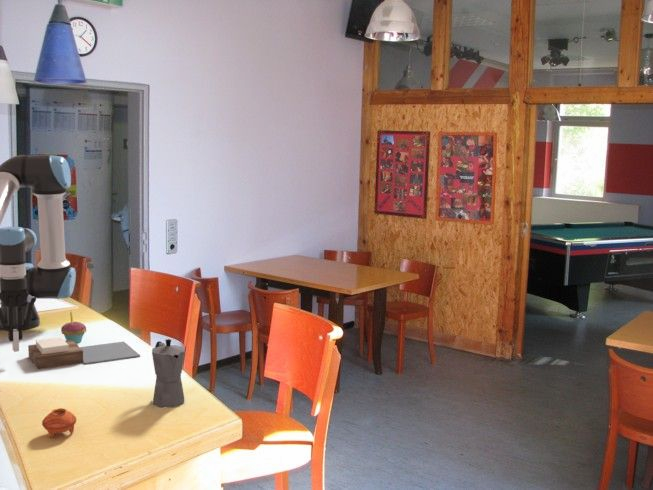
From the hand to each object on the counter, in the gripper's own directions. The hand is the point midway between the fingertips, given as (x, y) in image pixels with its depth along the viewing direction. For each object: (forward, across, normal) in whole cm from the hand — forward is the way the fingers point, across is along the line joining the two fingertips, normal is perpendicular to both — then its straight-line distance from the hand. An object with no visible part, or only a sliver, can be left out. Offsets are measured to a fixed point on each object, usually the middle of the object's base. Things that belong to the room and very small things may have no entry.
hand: (15, 350), depth 228 cm
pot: (+5, 0, -60) cm, 60 cm away
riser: (+5, +12, 0) cm, 13 cm away
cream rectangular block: (+1, +11, 0) cm, 11 cm away
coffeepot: (+5, +31, -51) cm, 60 cm away
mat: (+5, +28, 0) cm, 28 cm away
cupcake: (+5, +22, +18) cm, 29 cm away
